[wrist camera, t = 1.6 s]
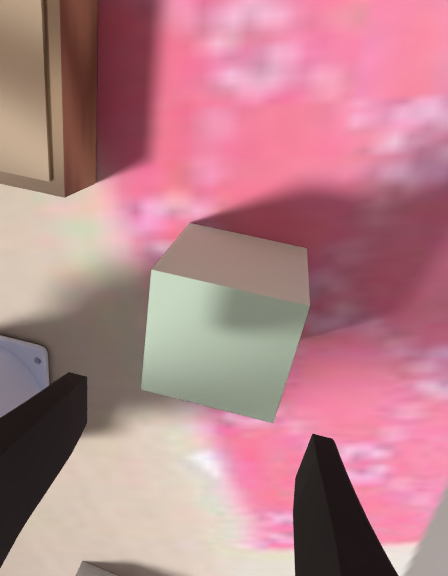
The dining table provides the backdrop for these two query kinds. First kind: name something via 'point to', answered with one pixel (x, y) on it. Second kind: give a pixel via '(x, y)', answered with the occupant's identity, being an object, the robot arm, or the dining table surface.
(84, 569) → the grey angular block
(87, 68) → the brown shallow tray
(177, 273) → the green cube
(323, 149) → the dining table surface
